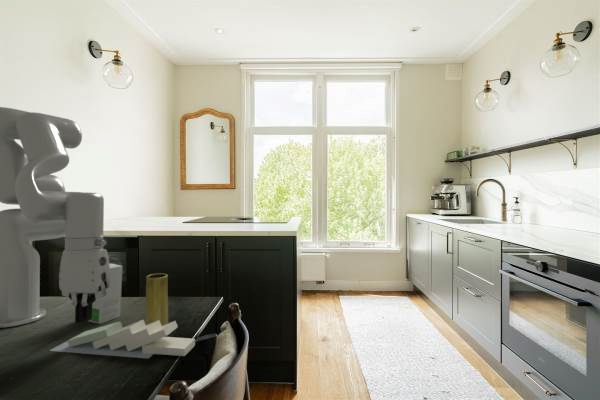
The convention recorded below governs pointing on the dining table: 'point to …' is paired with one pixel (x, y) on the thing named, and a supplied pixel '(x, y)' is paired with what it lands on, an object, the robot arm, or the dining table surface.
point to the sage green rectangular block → (95, 334)
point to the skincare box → (109, 298)
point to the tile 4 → (153, 336)
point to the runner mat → (101, 350)
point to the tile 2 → (119, 334)
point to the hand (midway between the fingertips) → (83, 321)
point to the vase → (156, 299)
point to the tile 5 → (169, 346)
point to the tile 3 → (136, 335)
